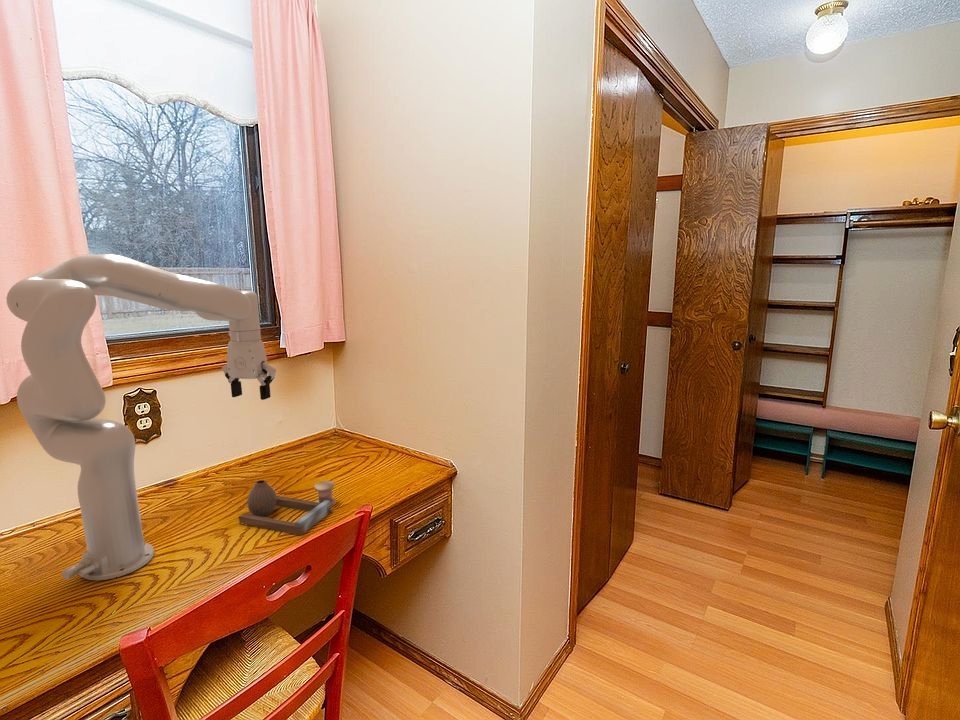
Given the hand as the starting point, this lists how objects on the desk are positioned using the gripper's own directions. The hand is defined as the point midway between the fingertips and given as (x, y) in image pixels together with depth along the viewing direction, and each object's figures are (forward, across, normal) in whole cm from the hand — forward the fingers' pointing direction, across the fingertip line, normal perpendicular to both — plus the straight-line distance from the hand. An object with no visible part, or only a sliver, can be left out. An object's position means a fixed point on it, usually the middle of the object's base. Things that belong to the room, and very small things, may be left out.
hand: (251, 397), depth 137 cm
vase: (+27, +12, -13) cm, 32 cm away
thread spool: (+27, +24, -3) cm, 36 cm away
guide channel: (+27, +19, -13) cm, 35 cm away
